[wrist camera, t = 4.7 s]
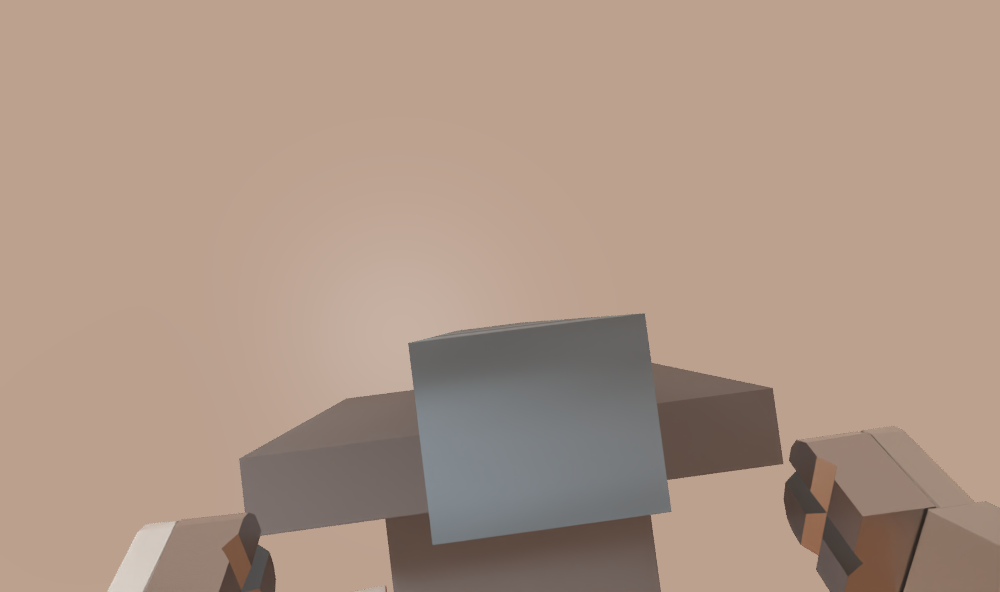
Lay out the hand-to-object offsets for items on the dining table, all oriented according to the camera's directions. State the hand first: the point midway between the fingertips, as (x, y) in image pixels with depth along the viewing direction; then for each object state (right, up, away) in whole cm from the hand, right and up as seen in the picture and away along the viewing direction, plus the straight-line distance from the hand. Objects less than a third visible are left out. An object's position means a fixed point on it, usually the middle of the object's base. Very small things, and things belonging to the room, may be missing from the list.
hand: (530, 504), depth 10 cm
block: (0, 0, +9) cm, 9 cm away
